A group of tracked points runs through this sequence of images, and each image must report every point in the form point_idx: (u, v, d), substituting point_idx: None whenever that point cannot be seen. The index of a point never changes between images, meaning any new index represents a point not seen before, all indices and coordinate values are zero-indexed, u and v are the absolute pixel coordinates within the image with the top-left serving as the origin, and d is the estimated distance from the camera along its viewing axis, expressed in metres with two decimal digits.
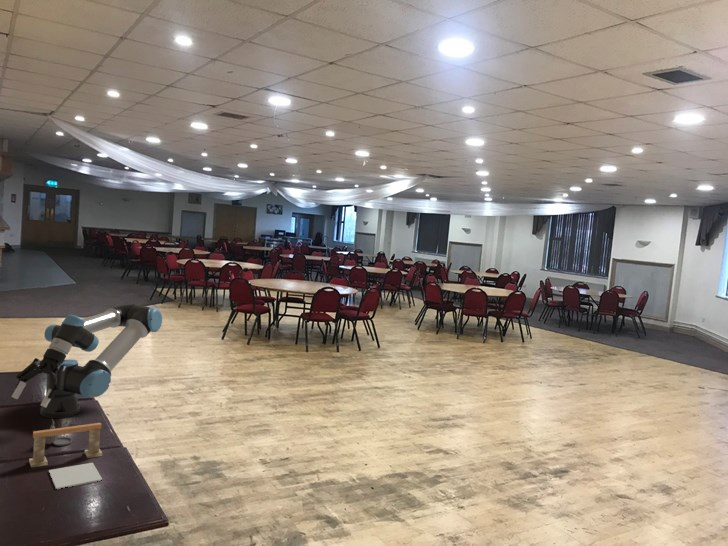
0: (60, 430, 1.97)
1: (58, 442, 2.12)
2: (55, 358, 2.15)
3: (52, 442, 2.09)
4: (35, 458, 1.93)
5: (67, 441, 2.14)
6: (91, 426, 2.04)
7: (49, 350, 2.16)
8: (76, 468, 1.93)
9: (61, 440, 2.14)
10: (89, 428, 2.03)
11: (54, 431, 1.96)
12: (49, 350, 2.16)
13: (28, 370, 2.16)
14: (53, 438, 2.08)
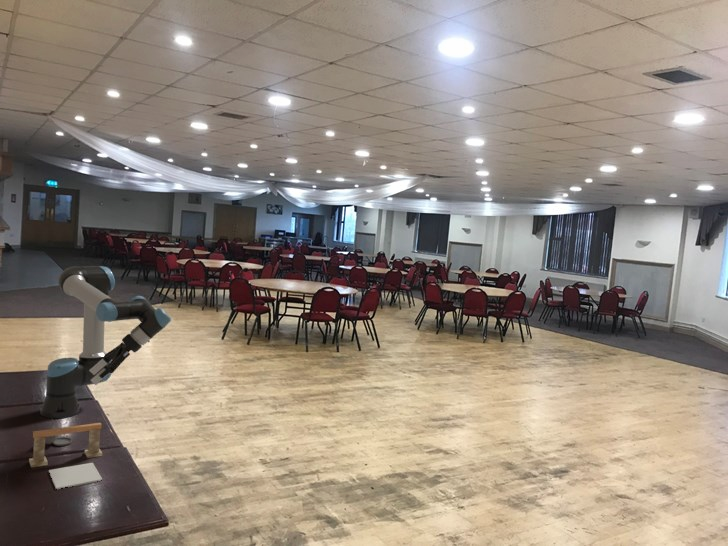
0: (60, 430, 1.97)
1: (58, 442, 2.12)
2: None
3: (52, 442, 2.09)
4: (35, 458, 1.93)
5: (67, 441, 2.14)
6: (91, 426, 2.04)
7: None
8: (76, 468, 1.93)
9: (61, 440, 2.14)
10: (89, 428, 2.03)
11: (54, 431, 1.96)
12: None
13: None
14: (53, 438, 2.08)
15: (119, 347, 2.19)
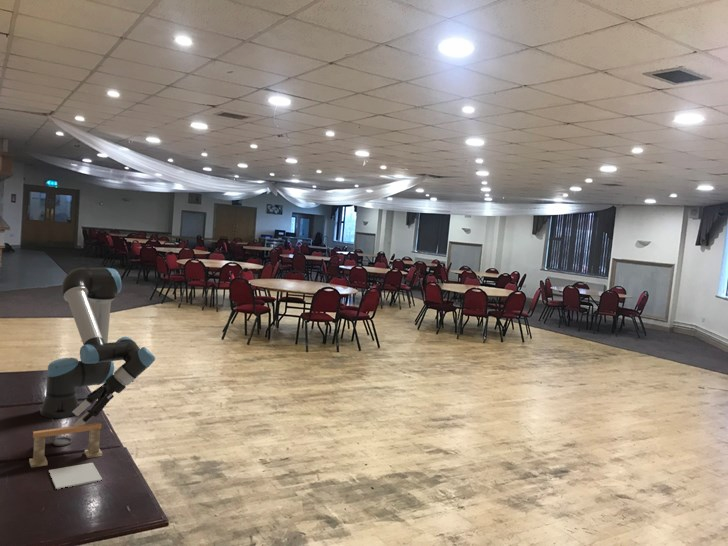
0: (60, 430, 1.97)
1: (58, 442, 2.12)
2: None
3: (52, 442, 2.09)
4: (35, 458, 1.93)
5: (67, 441, 2.14)
6: (91, 426, 2.04)
7: None
8: (76, 468, 1.93)
9: (61, 440, 2.14)
10: (89, 428, 2.03)
11: (54, 431, 1.96)
12: (124, 388, 2.20)
13: None
14: (53, 438, 2.08)
15: (103, 388, 2.17)
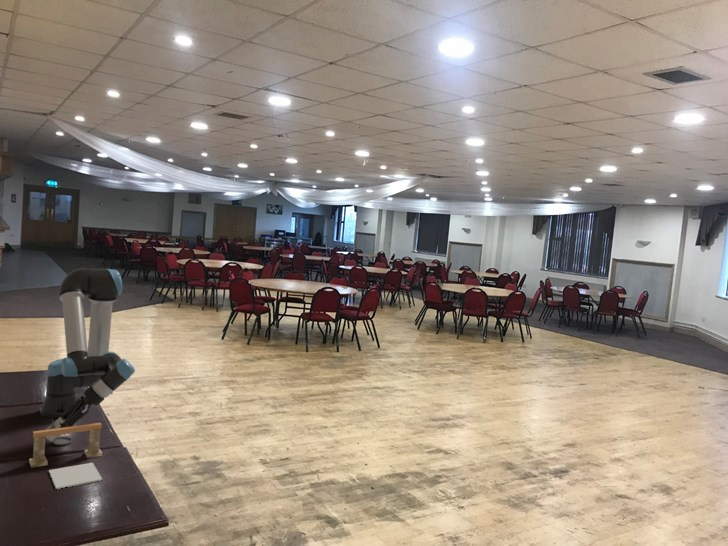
0: (60, 430, 1.97)
1: (58, 442, 2.13)
2: None
3: None
4: (35, 458, 1.93)
5: (67, 441, 2.14)
6: (91, 426, 2.04)
7: (102, 400, 2.17)
8: (76, 468, 1.93)
9: (61, 440, 2.14)
10: (89, 428, 2.03)
11: (54, 431, 1.96)
12: None
13: None
14: None
15: (81, 400, 2.15)
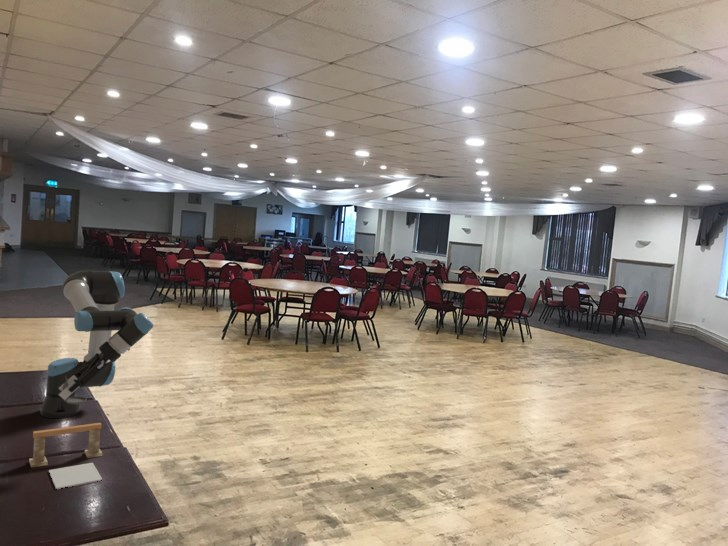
0: (60, 430, 1.97)
1: (72, 401, 1.96)
2: None
3: (65, 400, 1.93)
4: (35, 458, 1.93)
5: (81, 400, 1.98)
6: (91, 426, 2.04)
7: None
8: (76, 468, 1.93)
9: (75, 399, 1.98)
10: (89, 428, 2.03)
11: (54, 431, 1.96)
12: None
13: None
14: None
15: (96, 356, 1.99)
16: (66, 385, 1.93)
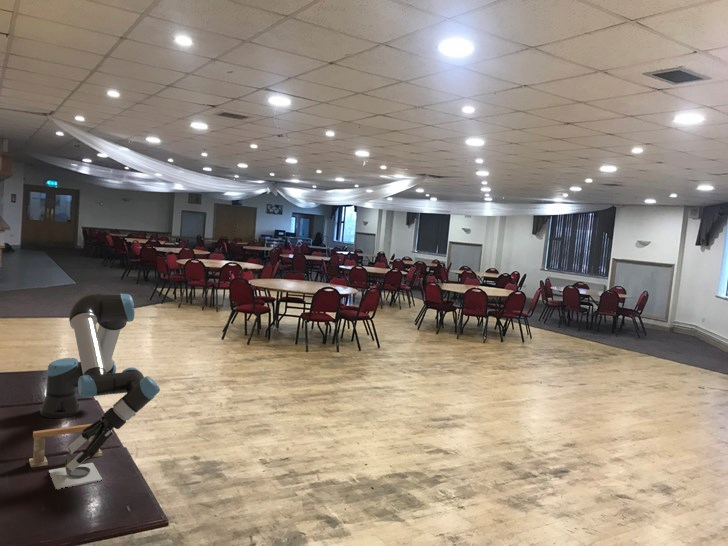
0: (60, 430, 1.97)
1: (75, 473, 1.89)
2: None
3: (68, 473, 1.86)
4: (35, 458, 1.93)
5: (85, 471, 1.91)
6: None
7: None
8: None
9: (78, 470, 1.91)
10: None
11: (54, 431, 1.96)
12: None
13: None
14: (69, 469, 1.85)
15: (100, 423, 1.91)
16: (69, 458, 1.86)
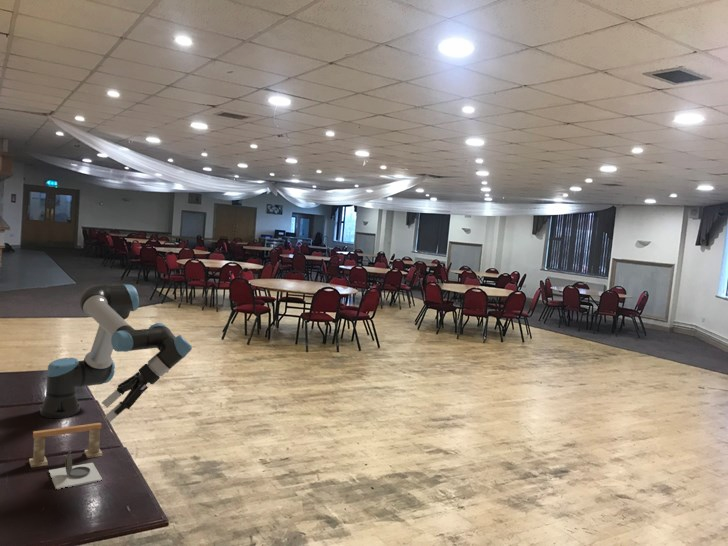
0: (60, 430, 1.97)
1: (75, 473, 1.89)
2: None
3: (68, 473, 1.86)
4: (35, 458, 1.93)
5: (85, 471, 1.91)
6: (91, 426, 2.04)
7: None
8: None
9: (78, 470, 1.91)
10: (89, 428, 2.03)
11: (54, 431, 1.96)
12: None
13: None
14: (70, 469, 1.85)
15: (135, 378, 2.00)
16: (69, 458, 1.86)
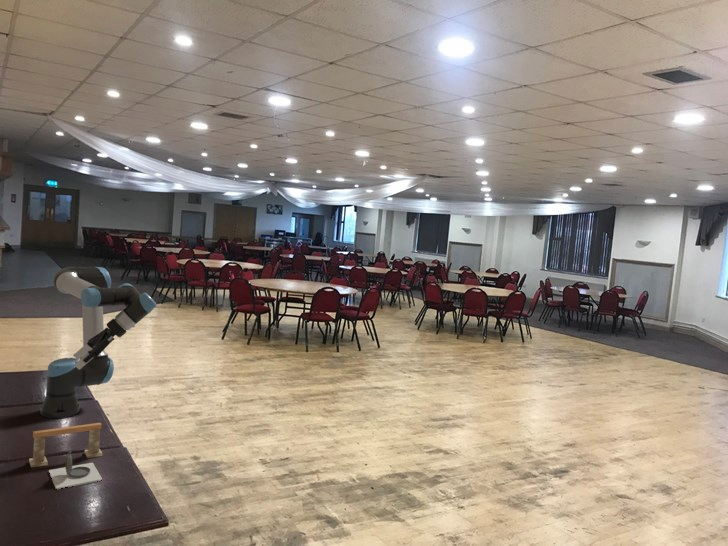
0: (60, 430, 1.97)
1: (75, 473, 1.89)
2: None
3: (68, 473, 1.86)
4: (35, 458, 1.93)
5: (85, 471, 1.91)
6: (91, 426, 2.04)
7: None
8: None
9: (78, 470, 1.91)
10: (89, 428, 2.03)
11: (54, 431, 1.96)
12: None
13: None
14: (70, 469, 1.85)
15: (103, 332, 2.17)
16: (69, 458, 1.86)
